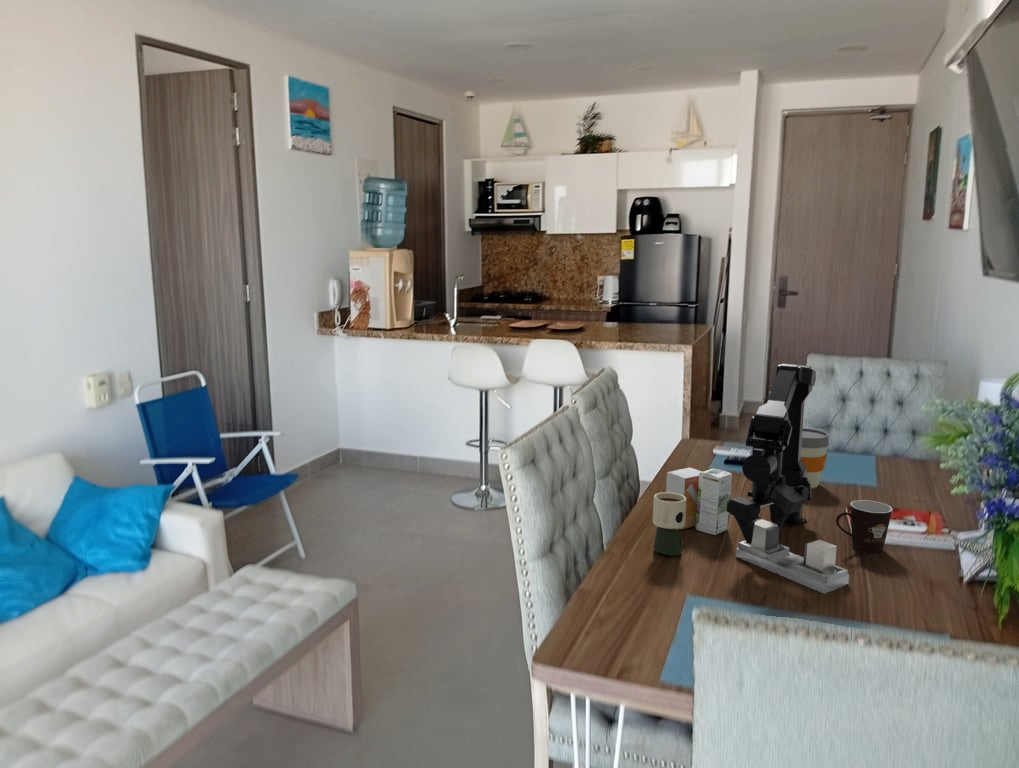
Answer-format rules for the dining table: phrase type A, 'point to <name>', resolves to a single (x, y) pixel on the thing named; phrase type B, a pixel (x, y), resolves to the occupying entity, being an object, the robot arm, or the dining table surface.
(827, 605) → the dining table surface
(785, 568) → the rail
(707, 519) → the syrup box
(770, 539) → the light grey upright block
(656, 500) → the character mug
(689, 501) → the small box
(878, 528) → the coffee mug
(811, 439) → the reusable coffee cup
